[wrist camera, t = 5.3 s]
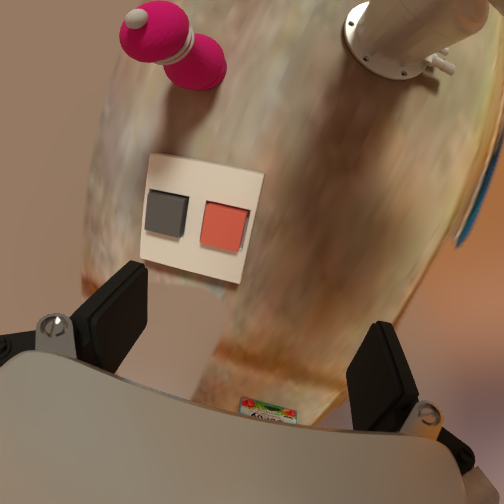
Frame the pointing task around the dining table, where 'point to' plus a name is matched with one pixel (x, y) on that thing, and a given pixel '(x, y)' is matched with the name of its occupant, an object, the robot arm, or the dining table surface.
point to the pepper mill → (172, 45)
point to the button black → (166, 213)
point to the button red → (223, 226)
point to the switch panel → (200, 213)
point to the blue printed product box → (266, 411)
